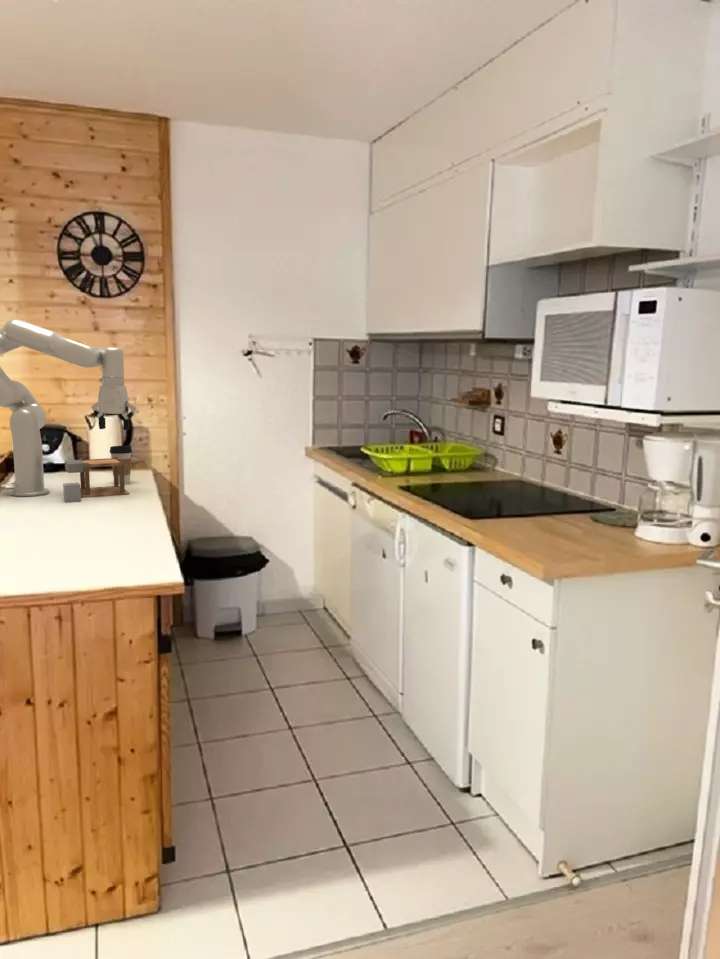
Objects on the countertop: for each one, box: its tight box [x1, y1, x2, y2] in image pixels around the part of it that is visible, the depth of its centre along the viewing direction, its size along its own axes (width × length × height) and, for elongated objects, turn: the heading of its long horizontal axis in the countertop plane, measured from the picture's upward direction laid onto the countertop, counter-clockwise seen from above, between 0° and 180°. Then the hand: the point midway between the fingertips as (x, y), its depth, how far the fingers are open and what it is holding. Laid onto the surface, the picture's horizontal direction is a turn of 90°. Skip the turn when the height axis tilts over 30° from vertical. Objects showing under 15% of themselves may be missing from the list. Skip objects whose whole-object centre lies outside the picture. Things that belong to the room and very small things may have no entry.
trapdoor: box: [64, 458, 119, 474], centre depth 273 cm, size 18×10×3 cm, turn 117°
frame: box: [78, 457, 130, 499], centre depth 274 cm, size 18×17×12 cm
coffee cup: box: [109, 444, 133, 486], centre depth 294 cm, size 8×8×15 cm
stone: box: [62, 481, 82, 504], centre depth 258 cm, size 5×5×6 cm
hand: (114, 429), depth 272 cm, fingers open, 9 cm apart
